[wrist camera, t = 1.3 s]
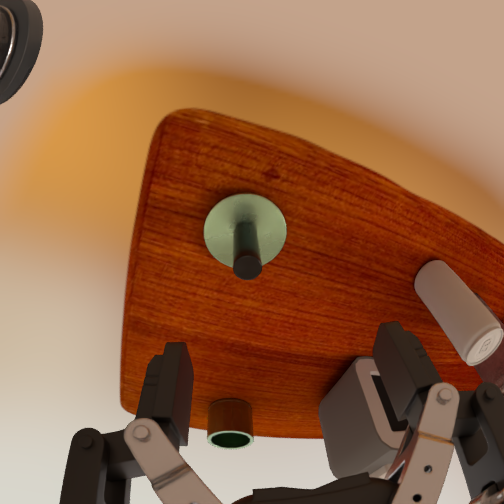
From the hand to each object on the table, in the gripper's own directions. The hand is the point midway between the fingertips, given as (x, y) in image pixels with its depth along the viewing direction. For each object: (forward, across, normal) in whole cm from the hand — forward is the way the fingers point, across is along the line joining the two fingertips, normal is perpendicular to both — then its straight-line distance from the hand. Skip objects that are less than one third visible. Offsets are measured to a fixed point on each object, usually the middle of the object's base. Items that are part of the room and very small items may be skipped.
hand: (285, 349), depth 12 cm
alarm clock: (+16, -16, +28) cm, 36 cm away
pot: (+16, +6, +30) cm, 34 cm away
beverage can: (+16, -19, +9) cm, 27 cm away
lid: (+15, +1, +2) cm, 16 cm away
